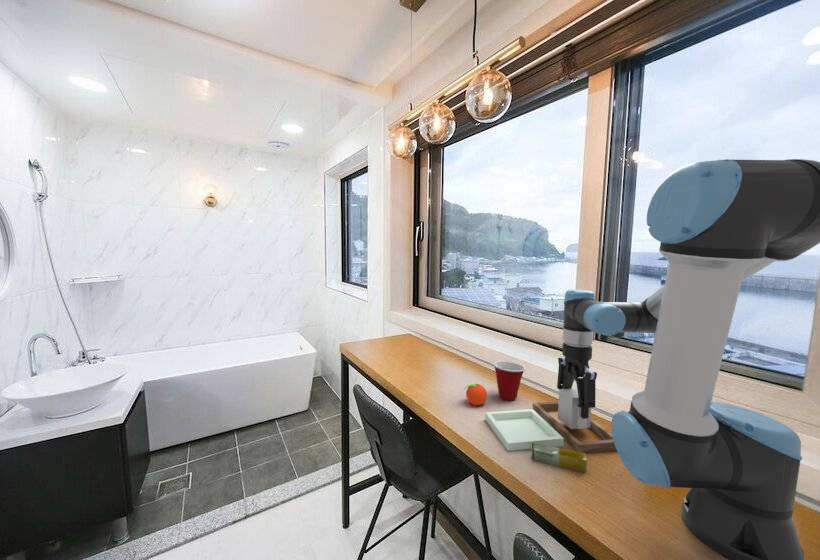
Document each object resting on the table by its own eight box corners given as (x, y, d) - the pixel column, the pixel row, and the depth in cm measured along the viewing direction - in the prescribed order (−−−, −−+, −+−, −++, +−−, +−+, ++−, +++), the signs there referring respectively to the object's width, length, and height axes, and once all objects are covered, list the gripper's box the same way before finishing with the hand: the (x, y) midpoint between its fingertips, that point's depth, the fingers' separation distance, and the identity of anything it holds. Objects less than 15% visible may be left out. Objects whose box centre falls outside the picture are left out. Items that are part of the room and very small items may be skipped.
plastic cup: (530, 398, 111) (531, 365, 110) (513, 408, 104) (514, 373, 103) (503, 387, 119) (504, 357, 118) (486, 396, 112) (487, 363, 111)
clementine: (464, 409, 103) (464, 388, 102) (461, 399, 110) (461, 379, 109) (488, 409, 103) (489, 388, 102) (484, 399, 110) (484, 379, 109)
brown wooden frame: (621, 450, 82) (622, 441, 82) (578, 454, 80) (579, 445, 80) (567, 407, 104) (567, 400, 104) (532, 410, 103) (532, 403, 102)
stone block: (590, 427, 89) (591, 396, 88) (570, 429, 88) (572, 397, 88) (576, 417, 95) (577, 388, 94) (557, 418, 94) (559, 389, 93)
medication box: (531, 463, 77) (531, 449, 77) (531, 455, 80) (531, 441, 79) (586, 475, 73) (587, 460, 72) (585, 466, 75) (585, 452, 75)
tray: (563, 449, 83) (563, 438, 82) (507, 454, 80) (508, 443, 80) (532, 418, 98) (532, 409, 97) (485, 421, 96) (485, 412, 95)
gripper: (615, 353, 81) (610, 439, 83) (568, 335, 100) (564, 405, 101) (588, 354, 80) (584, 441, 82) (546, 335, 99) (543, 407, 100)
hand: (573, 421), depth 91 cm, fingers closed on stone block, 6 cm apart
